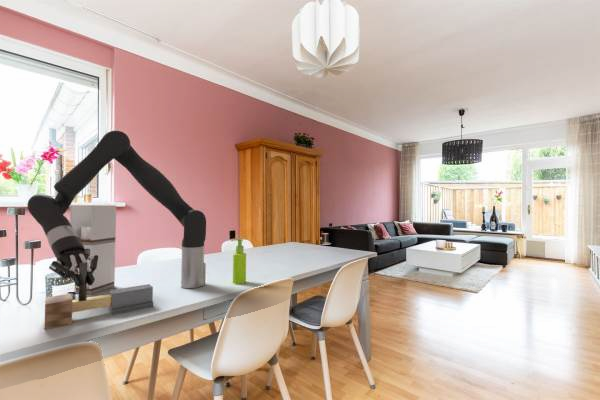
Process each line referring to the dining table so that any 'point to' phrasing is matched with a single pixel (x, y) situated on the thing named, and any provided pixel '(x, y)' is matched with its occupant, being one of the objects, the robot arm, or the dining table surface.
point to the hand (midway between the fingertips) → (87, 284)
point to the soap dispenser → (239, 263)
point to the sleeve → (131, 299)
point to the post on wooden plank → (90, 302)
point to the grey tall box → (97, 240)
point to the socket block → (58, 311)
